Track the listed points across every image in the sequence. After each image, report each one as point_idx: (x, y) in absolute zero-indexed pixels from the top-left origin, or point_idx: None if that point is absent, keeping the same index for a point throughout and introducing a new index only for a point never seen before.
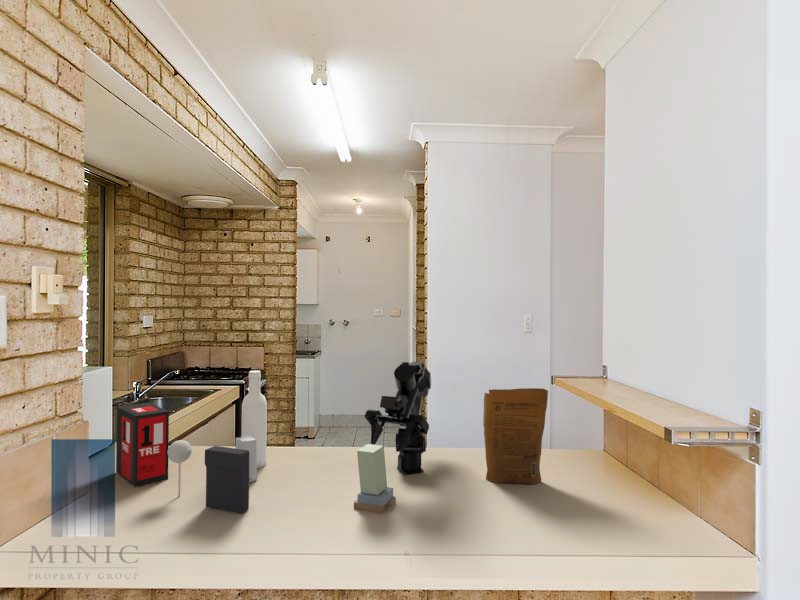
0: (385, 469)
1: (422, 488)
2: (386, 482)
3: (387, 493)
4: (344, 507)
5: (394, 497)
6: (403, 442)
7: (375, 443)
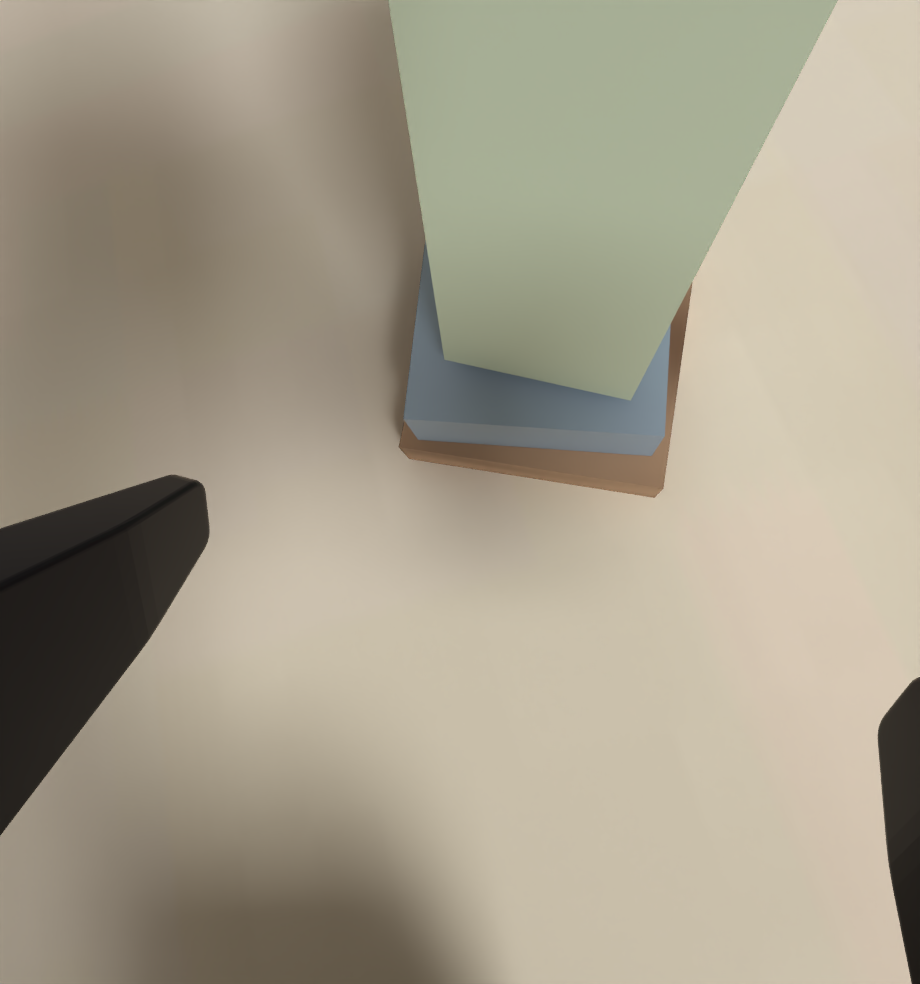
0: (429, 247)
1: (251, 823)
2: (443, 332)
3: (422, 292)
4: (763, 252)
5: (403, 427)
6: (34, 523)
7: (889, 838)
